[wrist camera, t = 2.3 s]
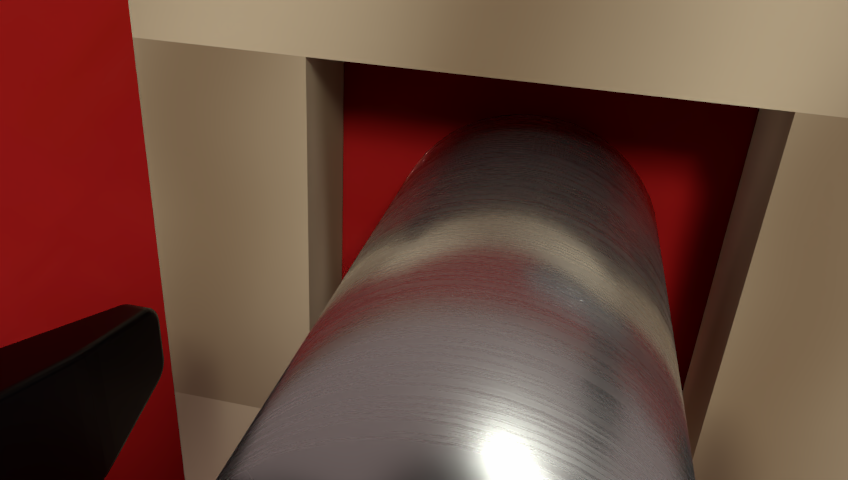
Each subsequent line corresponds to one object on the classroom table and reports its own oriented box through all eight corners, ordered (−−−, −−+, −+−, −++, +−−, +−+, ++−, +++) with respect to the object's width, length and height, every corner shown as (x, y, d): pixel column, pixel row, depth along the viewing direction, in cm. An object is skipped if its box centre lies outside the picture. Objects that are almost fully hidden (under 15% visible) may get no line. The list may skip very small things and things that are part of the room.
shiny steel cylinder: (684, 132, 12) (803, 520, 5) (630, 368, 14) (657, 879, 7) (401, 98, 12) (144, 390, 5) (390, 327, 15) (195, 750, 8)
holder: (1049, -109, 9) (1138, -105, 8) (784, 551, 15) (806, 631, 13) (176, -166, 11) (107, -171, 10) (226, 437, 17) (187, 496, 15)
